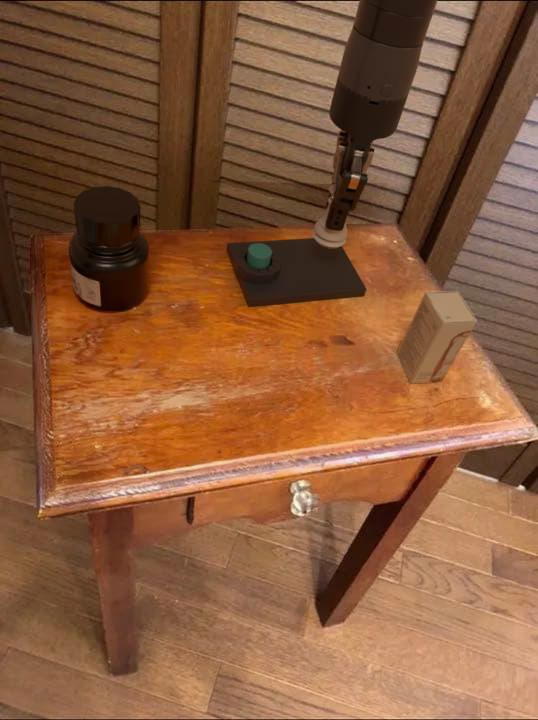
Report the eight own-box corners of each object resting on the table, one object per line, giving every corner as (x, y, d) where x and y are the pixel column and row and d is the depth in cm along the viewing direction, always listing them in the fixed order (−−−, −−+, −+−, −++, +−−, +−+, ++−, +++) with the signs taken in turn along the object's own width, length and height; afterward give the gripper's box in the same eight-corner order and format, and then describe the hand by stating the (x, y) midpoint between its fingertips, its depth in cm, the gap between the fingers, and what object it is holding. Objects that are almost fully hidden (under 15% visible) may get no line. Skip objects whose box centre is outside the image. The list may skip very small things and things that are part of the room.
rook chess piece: (305, 230, 76) (319, 175, 70) (335, 226, 77) (351, 172, 71) (320, 252, 73) (336, 197, 67) (351, 247, 75) (369, 193, 69)
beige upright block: (443, 382, 70) (479, 323, 62) (409, 384, 68) (442, 324, 61) (427, 350, 73) (459, 289, 65) (394, 351, 72) (424, 290, 64)
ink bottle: (70, 264, 72) (60, 178, 64) (142, 260, 75) (142, 177, 66) (76, 320, 67) (66, 234, 58) (154, 313, 69) (156, 230, 60)
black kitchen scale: (244, 308, 72) (248, 290, 70) (223, 251, 79) (225, 233, 77) (363, 297, 78) (370, 279, 75) (334, 244, 84) (339, 227, 82)
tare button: (250, 269, 73) (252, 258, 72) (243, 254, 75) (245, 243, 74) (272, 268, 74) (275, 257, 73) (265, 253, 76) (268, 242, 75)
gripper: (339, 46, 65) (306, 183, 77) (338, 102, 55) (301, 248, 68) (405, 60, 65) (361, 194, 78) (415, 118, 56) (364, 260, 68)
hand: (333, 218), depth 73 cm, fingers closed on rook chess piece, 3 cm apart
